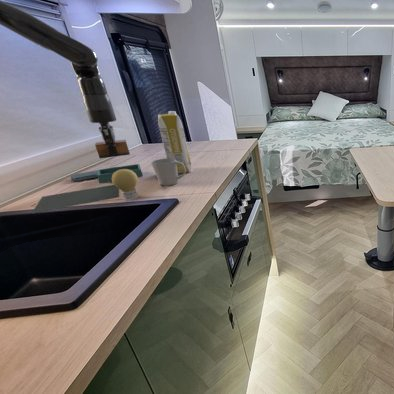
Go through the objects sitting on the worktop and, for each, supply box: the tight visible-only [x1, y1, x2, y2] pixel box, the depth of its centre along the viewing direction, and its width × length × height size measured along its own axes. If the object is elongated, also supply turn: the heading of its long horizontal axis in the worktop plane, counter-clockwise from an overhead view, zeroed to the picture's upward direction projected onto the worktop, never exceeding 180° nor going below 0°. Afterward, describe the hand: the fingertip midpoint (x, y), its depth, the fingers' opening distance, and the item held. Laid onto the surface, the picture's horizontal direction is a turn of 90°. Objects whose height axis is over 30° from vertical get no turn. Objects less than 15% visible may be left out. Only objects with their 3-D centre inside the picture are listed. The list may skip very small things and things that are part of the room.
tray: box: [96, 163, 143, 184], centre depth 112 cm, size 13×9×4 cm
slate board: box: [31, 184, 120, 214], centre depth 93 cm, size 20×16×1 cm
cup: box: [151, 157, 187, 187], centre depth 105 cm, size 8×10×8 cm
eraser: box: [94, 139, 130, 159], centre depth 109 cm, size 9×5×5 cm, turn 127°
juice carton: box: [157, 110, 192, 175], centre depth 116 cm, size 9×8×24 cm
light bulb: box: [111, 169, 139, 201], centre depth 90 cm, size 6×6×10 cm
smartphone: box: [70, 166, 115, 183], centre depth 115 cm, size 8×2×15 cm
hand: (114, 154), depth 109 cm, fingers closed on eraser, 5 cm apart
